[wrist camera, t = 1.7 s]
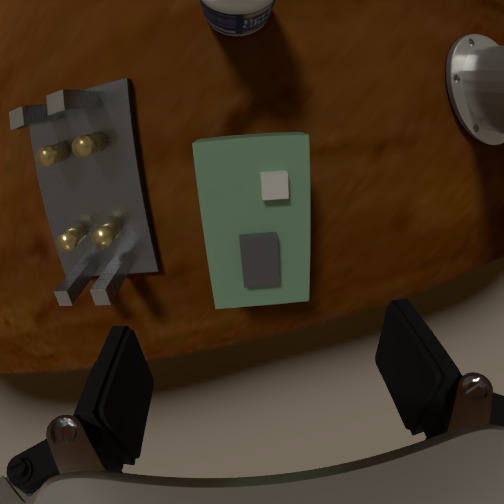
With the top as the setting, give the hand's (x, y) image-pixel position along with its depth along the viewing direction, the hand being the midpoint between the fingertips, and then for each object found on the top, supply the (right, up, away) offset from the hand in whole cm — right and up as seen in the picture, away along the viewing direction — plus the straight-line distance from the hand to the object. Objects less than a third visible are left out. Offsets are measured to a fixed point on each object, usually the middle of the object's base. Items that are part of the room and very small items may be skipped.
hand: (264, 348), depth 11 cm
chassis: (-16, +10, +15) cm, 23 cm away
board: (0, +6, +12) cm, 13 cm away
